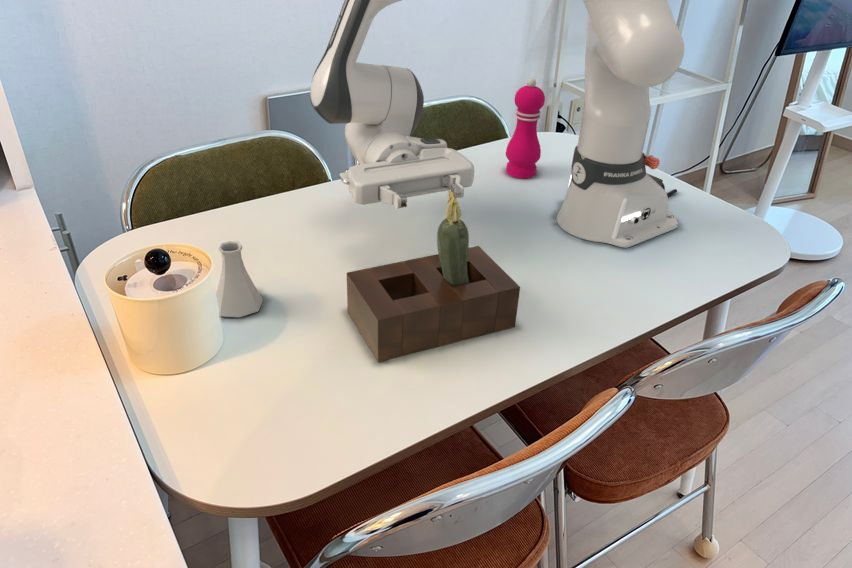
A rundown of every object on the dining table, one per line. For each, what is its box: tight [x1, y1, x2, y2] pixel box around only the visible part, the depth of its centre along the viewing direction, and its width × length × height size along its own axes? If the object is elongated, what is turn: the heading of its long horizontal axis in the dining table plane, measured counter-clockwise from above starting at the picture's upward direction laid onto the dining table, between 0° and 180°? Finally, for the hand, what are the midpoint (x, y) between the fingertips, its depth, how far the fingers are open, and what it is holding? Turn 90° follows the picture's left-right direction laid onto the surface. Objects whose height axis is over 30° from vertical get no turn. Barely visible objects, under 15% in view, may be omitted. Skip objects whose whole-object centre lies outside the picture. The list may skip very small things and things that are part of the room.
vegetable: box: [436, 190, 470, 287], centre depth 97 cm, size 4×4×20 cm
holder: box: [346, 245, 521, 363], centre depth 100 cm, size 21×12×7 cm, turn 114°
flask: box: [216, 240, 264, 318], centre depth 100 cm, size 7×7×10 cm
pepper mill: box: [505, 77, 546, 180], centre depth 142 cm, size 7×7×20 cm
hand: (431, 198), depth 104 cm, fingers open, 8 cm apart
